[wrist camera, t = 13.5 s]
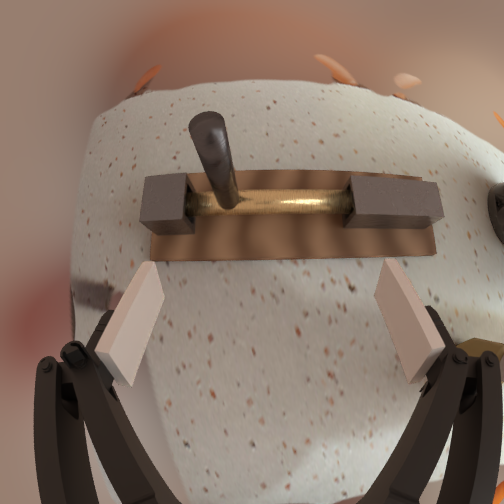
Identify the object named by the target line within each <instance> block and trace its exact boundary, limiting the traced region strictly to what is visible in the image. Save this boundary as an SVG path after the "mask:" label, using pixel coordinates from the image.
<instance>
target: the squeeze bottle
mask: <svg viewBox="0 0 504 504" xmlns="http://www.w3.org/2000/svg"><path fill="white" fill-rule="evenodd" d="M456 347H457V348H461V349H463V350H464V351H465V352H466V353H467V354H468V356H473V357H480V356H481V354H482V353H483V352H484V351H492V352H493V353H495V354H496V355H497V357H498V359H499V362H500V371H501V383H503V382H504V344H502V343H497V342H492V341H487V340H483V339H478V338H473V339H469V340H467V341H465V342H463V343H460V344H458V345H457V346H456Z"/></svg>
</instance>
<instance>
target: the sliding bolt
mask: <svg viewBox="0 0 504 504" xmlns="http://www.w3.org/2000/svg"><path fill="white" fill-rule="evenodd" d="M188 128H189V132H190V135H191V137H192V140H193V142H194V145H195V147H196V150H197V153H198V155H199V158H200V160H201V163H202V165H203V168H204V170H205V173H206V175H207V178H208V180H209V183H210V185H211V188H212V190H213V191H207V192H190V193H187V194H186V206H185V215H186V216H187V217H196V216H221V215H257V214H351V213H352V212H353V211H354V208H353V200H352V194H351V190H328V189H260V190H238V187H237V182H236V177H235V172H234V167H233V162H232V157H231V152H230V147H229V142H228V137H227V132H226V127H225V122H224V118H223V117H222V116H221V115H220V114H219V113H217V112H212V111H208V112H203V113H200V114H198V115H196V116H195V117H194V118H193V119H192V120H191V121H190V123H189V127H188Z"/></svg>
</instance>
